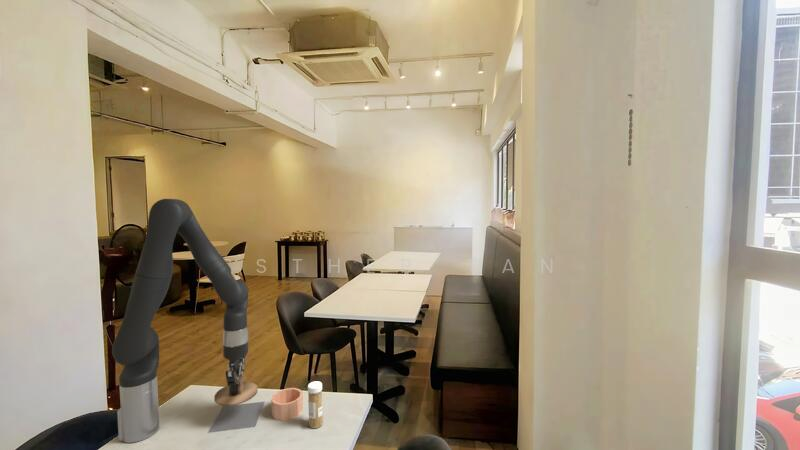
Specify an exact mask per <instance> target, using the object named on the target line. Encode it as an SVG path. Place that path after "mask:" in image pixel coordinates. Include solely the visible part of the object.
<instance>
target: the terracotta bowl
mask: <svg viewBox="0 0 800 450" xmlns="http://www.w3.org/2000/svg"><path fill="white" fill-rule="evenodd" d="M303 393H304V392H303V390H301V389H299V388H297V387H287V388H284V389H281V390H278V391H276V392H275V393H274V394H273V395H272V397H271V399H270V400H271V403H270V404H271V405H270V406H271V416H272V418H273V419H274V420H277V421H289V420H293V419H294V418H297V417H298V416H300V415H301V413H302V412H303V409H304V394H303Z"/></svg>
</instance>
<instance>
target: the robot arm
mask: <svg viewBox="0 0 800 450" xmlns="http://www.w3.org/2000/svg"><path fill="white" fill-rule="evenodd" d="M146 227H147V228H146V233H145V234H146V235H145V240H144V244H143V247H142V249H141V253H140V256H139V261H138V264H137V267H136V270H135V273H134V277H133V281H132V285H131V290H130V292H129V293H130V294H129V297H128V300H127V304H126V309H125V312H124V316H123V320H122V321H121V323H120V327H119V329H118V332H117V334H116V336H115V339H114V341H113V344H112V347H111V354H112V357H113V359H114V361H115V362H116V363H118V364H119V365H121V366H123V368H122V370H121V372H120V373H119V374H120V375H119V379H118V383H119V399H120V400H119V401H120V408H119V409H117V411H116V413H117V415H116V417H117V431H118V442H124V443H127V444H133V443H137V442H140V441H143V440H146V439H148V438H149V437H151V436H153V435H155V434H156V433H157V432H158V431H159V429H160V412H159V410H160V409H159V408H160V407H159V405H160V404H159V389H158V388H159V387H158V369H159V365H160V338H159V334H158V333H157V331H156V330H155V329H154V328H152V327H151V326H152V322H153V319H154V317H155V315H156V313H157V312H158V310H159V308H160V307H161V304H162V303H163V302H164V299H165V298H166V297H167V296H166V295H167V293H168V290H169V288H170V285H171V281H172V278H173V273H174V257H173V247H174V242H175V239H176V236H177V234H178V235H179V236H180V237H181V238H182V239H183V240H184V242H185V243H186V245H187V246H188V248H189V251H190V253H191V255H192V257H193V259H194V261H195V263H196V264H197V266H198V268H200V270H201V271H202V273H203V274H204V275H205V276H206V277H207V279H208V280H209V281H210V282H211V285H212V286H213V288H214V290H215V292H216V294H217V295H218V298H220V300H221V301H222V302H223V303H224V304H225V312H224V314H223V315H224V316H223V332H222V333H223V334H222V356H223V358H224V359H227V360H228V361H229V362H228V364H227V369H228V370H226V371H225V378H226V384H227V385H226V386H230V385H231V395H237V394H238V382H239V381H238V380H239V376H243V377H244V372H245V366H246V365H245V364H246V356H247V355H248V353H249V330H248V313H247V311H248V302H249V287H248V285H247V283H246V282H244V281H243V280H241V279H236V278H235V277H234V275H233V274H232V269H231V266H230V265H229V264H228V263H227V261H226V260H225V259H224V256H222V255H221V253H220V252H219V251H218V250H217V248H216V247H215V246H214V244H213V243H212V242H211V240H210V239H209V238H208V236H207V235H206V233H205V231H204V230H203V229H202V227H201V225H200V223H199V221H198V220H197V218H196V215H195V214H194V212H193V210H192V209H191V207H190V205H189V204H188V203H187V202H185V201H184V200H182V199H176V198H162V199H161V198H160V199H159V200H158V201H155V202H154V203H153V205H152V206H151V208H150V210H149V213H148V221H147V226H146Z"/></svg>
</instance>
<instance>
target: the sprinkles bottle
mask: <svg viewBox="0 0 800 450" xmlns="http://www.w3.org/2000/svg"><path fill="white" fill-rule="evenodd" d="M322 390H323V383H322V382H321V381H319V380H318V381H316V380H315V381H311V382H310V383H308V385H307V393H308V401H307V403H308V421H309V422H308V427H310V428H311V429H318V428H321V427H322V426H323V424H324V419H323V411H324V410H323V392H322Z"/></svg>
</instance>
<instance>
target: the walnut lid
mask: <svg viewBox="0 0 800 450" xmlns="http://www.w3.org/2000/svg"><path fill="white" fill-rule="evenodd" d="M238 381H239V382H238V394H237V395H231V385H230V386H228V385H226V386H223V387H222V388H219V390H217V391H216V392H215V394H214V396H213V397H214V398H213V399H214V402H215V404H217V405H219V406H222V407H223V406H232V405H238V404H244V403H247V401H250V400H252V399H253V398H254V397H255V396H256V395H257V394H258V390H259V389H258V385H257V384H256V383H254V382H250V381H244V375H243V376H239V380H238Z"/></svg>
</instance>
